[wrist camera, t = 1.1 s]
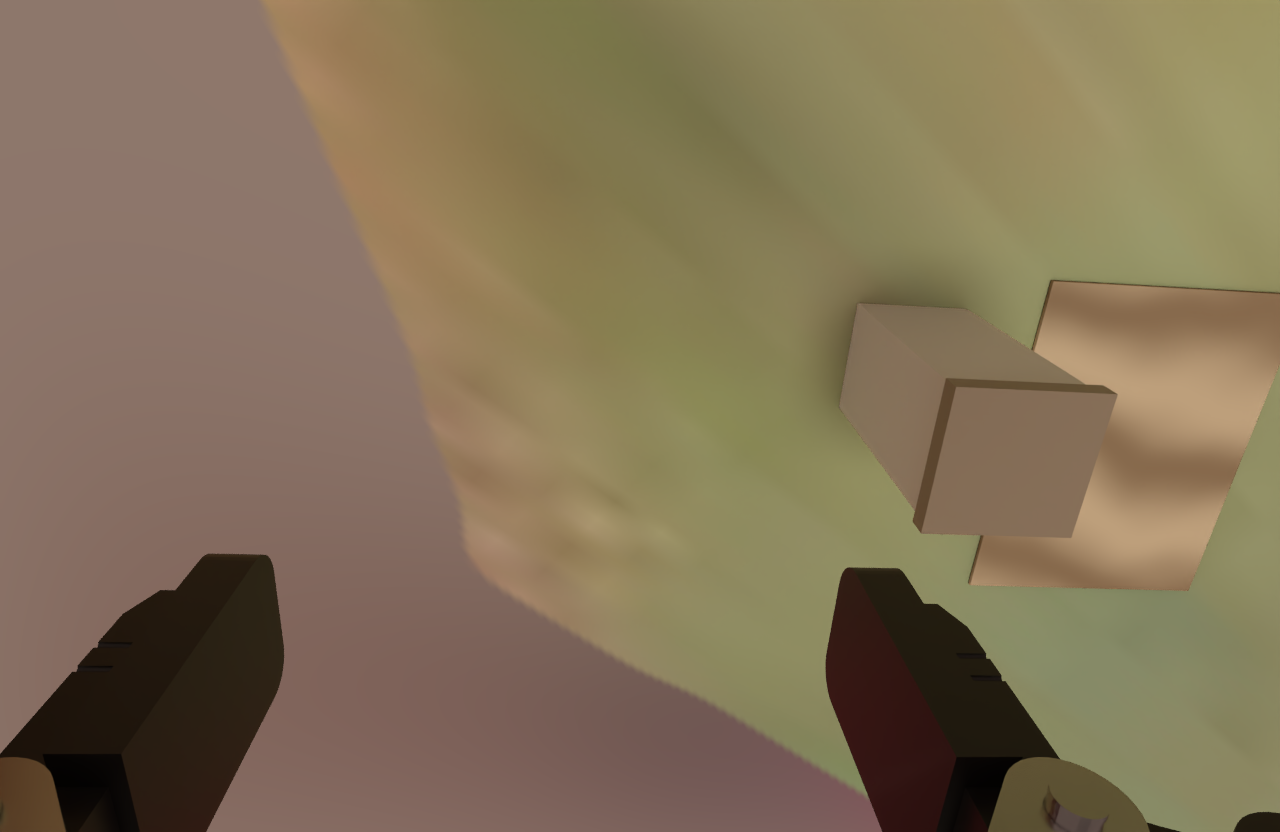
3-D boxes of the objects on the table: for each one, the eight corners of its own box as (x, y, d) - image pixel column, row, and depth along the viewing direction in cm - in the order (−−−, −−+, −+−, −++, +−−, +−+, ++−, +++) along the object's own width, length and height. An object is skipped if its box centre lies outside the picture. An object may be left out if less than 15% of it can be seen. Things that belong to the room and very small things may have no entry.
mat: (1051, 280, 35) (1053, 281, 35) (1303, 294, 36) (1307, 295, 36) (968, 582, 42) (970, 585, 42) (1185, 588, 43) (1188, 590, 42)
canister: (854, 298, 35) (956, 386, 25) (972, 304, 36) (1117, 394, 26) (833, 411, 37) (921, 533, 28) (945, 415, 38) (1071, 538, 28)
